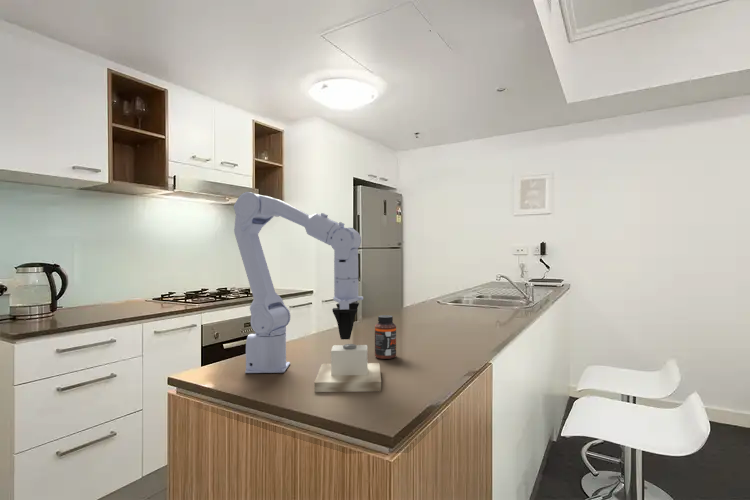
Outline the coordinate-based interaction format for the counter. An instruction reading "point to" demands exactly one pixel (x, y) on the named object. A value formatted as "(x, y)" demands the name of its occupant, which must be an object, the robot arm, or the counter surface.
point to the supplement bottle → (385, 337)
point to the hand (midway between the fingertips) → (346, 335)
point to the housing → (349, 360)
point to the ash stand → (348, 380)
